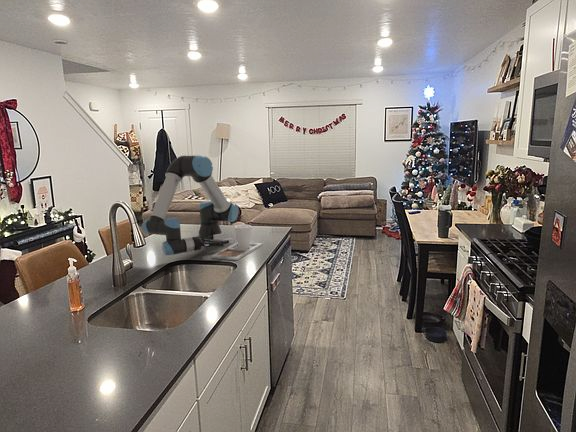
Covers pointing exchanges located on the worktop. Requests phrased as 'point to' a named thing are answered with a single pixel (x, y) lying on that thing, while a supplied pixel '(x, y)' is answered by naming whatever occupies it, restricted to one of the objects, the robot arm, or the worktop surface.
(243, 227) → the foam cup
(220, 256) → the flat grey tray
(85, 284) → the worktop surface
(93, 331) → the worktop surface
